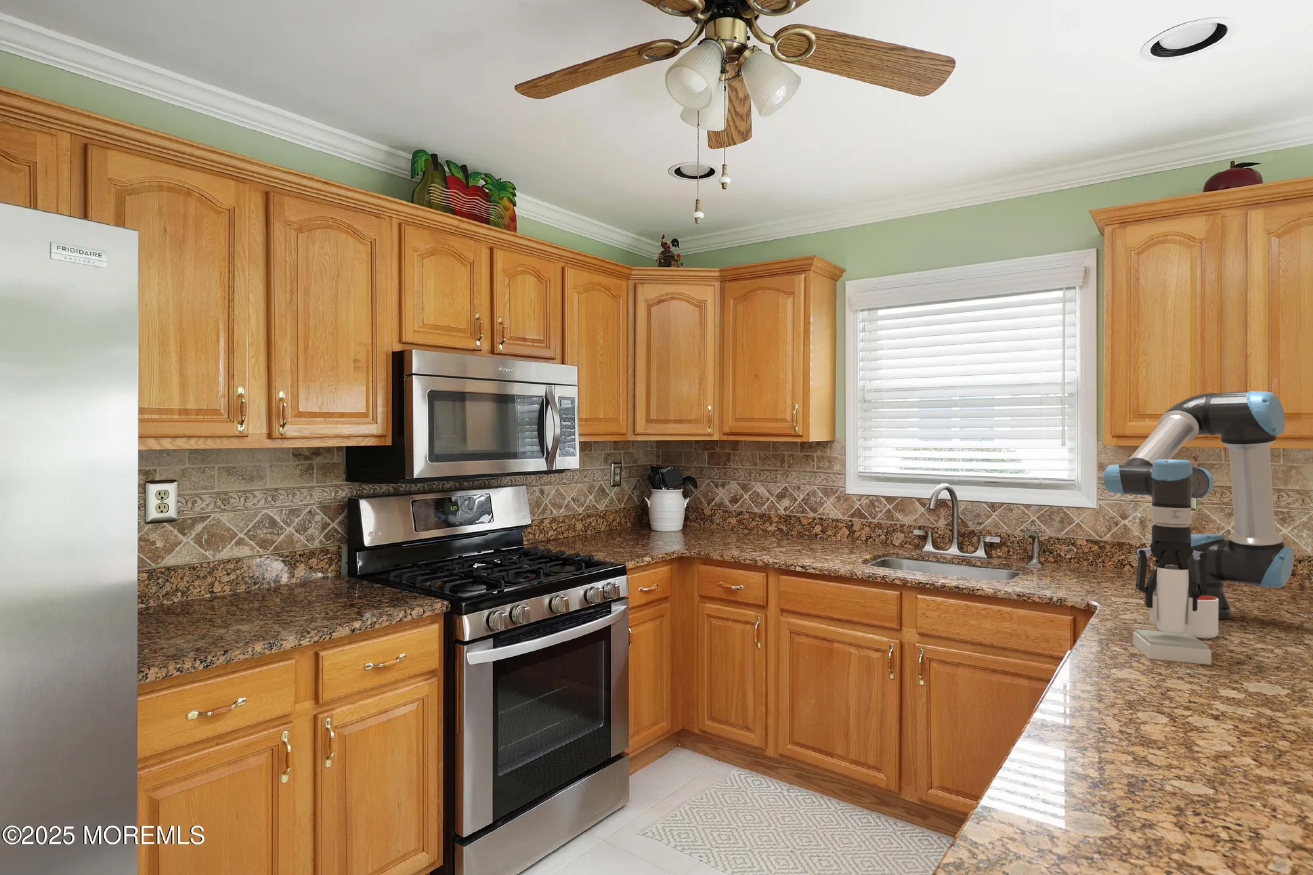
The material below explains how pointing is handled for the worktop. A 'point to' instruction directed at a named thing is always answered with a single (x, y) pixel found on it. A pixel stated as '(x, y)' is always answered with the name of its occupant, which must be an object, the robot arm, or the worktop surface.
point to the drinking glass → (1171, 598)
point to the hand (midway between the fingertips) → (1170, 622)
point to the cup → (1204, 618)
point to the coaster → (1171, 646)
